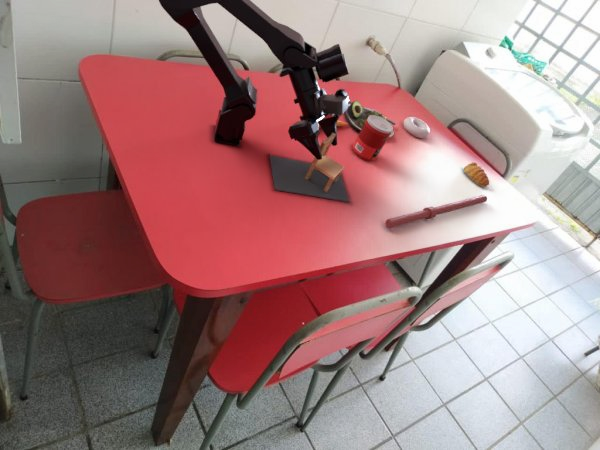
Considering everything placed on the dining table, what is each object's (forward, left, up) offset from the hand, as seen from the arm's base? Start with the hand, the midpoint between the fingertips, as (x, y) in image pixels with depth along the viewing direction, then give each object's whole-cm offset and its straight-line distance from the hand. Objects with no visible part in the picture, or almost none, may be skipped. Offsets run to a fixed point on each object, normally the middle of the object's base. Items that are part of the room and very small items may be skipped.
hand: (327, 152), depth 100 cm
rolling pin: (+37, -6, -8) cm, 38 cm away
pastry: (+62, +16, -8) cm, 65 cm away
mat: (-2, -1, -8) cm, 9 cm away
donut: (+46, +37, -8) cm, 59 cm away
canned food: (+19, +16, -8) cm, 26 cm away
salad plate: (+25, +34, -8) cm, 43 cm away
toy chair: (+1, -1, -8) cm, 8 cm away
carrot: (+11, +28, -7) cm, 31 cm away
